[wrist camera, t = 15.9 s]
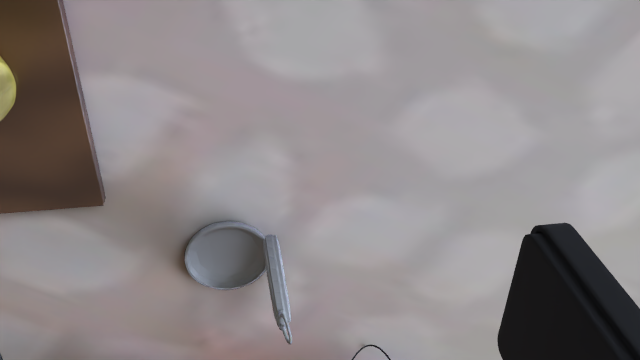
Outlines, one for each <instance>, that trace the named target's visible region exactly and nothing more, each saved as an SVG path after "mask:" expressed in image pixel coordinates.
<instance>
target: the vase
mask: <svg viewBox="0 0 640 360" xmlns="http://www.w3.org/2000/svg"><path fill="white" fill-rule="evenodd" d="M15 97H16V83H15V79H14V76H13V74H12V72H11V70H10V68H9V67H8V65H7V64H6V62H5V61H4V60H3V59H2V58H1V56H0V121H1V120H2V119H3V118H4V117H5V116H6V115H7V113H8V112H9V111H10V109H11V108H12V106H13V104H14V102H15Z"/></svg>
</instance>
